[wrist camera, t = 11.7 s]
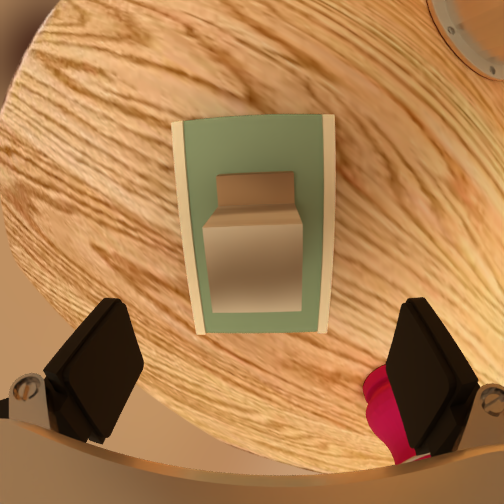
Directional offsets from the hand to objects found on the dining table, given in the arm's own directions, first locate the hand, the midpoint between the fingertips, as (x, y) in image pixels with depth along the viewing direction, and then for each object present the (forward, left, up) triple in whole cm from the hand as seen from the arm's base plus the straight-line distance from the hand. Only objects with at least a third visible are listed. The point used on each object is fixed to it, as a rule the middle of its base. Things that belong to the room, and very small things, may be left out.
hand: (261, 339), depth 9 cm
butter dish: (+1, -1, -13) cm, 13 cm away
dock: (+1, -1, -16) cm, 16 cm away
